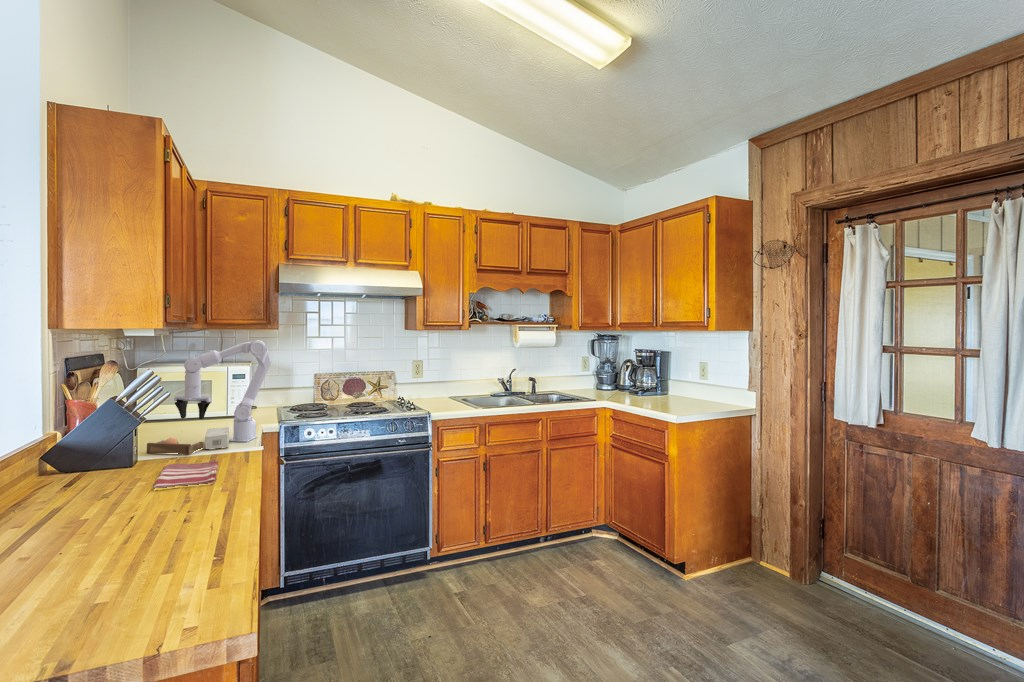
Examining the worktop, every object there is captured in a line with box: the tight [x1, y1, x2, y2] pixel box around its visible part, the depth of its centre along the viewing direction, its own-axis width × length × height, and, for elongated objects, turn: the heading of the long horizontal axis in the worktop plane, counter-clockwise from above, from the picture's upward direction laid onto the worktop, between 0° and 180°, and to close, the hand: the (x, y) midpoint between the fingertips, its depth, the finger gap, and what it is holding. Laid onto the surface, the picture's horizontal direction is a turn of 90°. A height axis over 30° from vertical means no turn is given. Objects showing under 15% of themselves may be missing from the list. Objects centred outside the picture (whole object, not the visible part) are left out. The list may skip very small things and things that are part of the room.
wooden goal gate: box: [146, 439, 204, 456], centre depth 198 cm, size 9×17×4 cm, turn 90°
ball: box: [164, 437, 180, 444], centre depth 199 cm, size 5×5×5 cm
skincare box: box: [204, 426, 230, 450], centre depth 209 cm, size 8×6×15 cm
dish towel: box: [152, 460, 219, 490], centre depth 169 cm, size 17×23×3 cm
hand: (192, 418), depth 211 cm, fingers open, 7 cm apart
